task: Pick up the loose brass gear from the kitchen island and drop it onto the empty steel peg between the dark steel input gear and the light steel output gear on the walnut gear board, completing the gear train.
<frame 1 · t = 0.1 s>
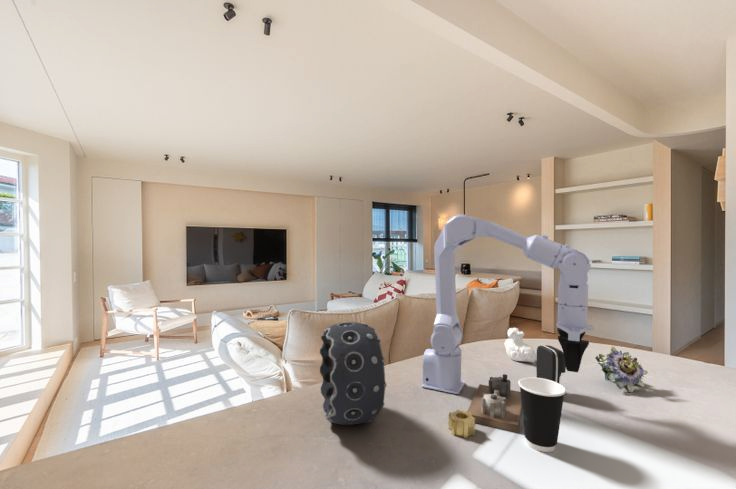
hand: (571, 365, 79), 10 cm above the kitchen island, tool pointing down, fingers open, 7 cm apart
dixie cup: (540, 445, 66), on the kitchen island
dark grey patterned wheel: (349, 419, 74), on the kitchen island
bust: (517, 360, 113), on the kitchen island
gear board: (496, 408, 79), on the kitchen island
brass gear: (461, 430, 70), on the kitchen island
passion flower: (618, 386, 93), on the kitchen island
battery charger: (550, 394, 88), on the kitchen island
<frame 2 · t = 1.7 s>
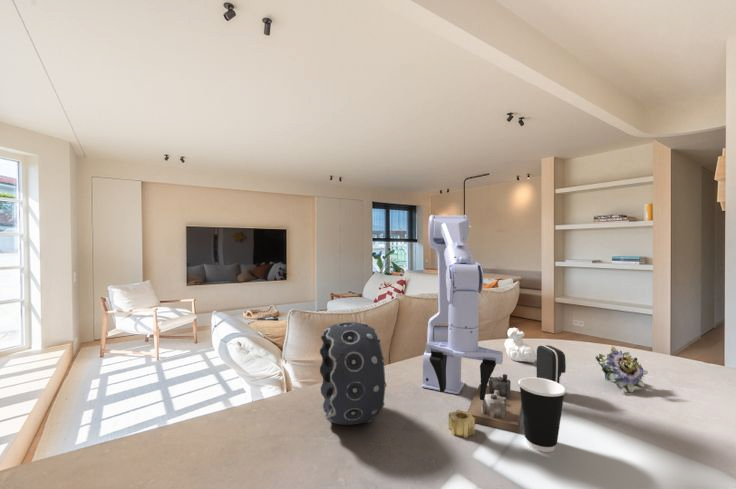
hand: (462, 394, 70), 7 cm above the kitchen island, tool pointing down, fingers open, 7 cm apart
nothing on the kitchen island moved.
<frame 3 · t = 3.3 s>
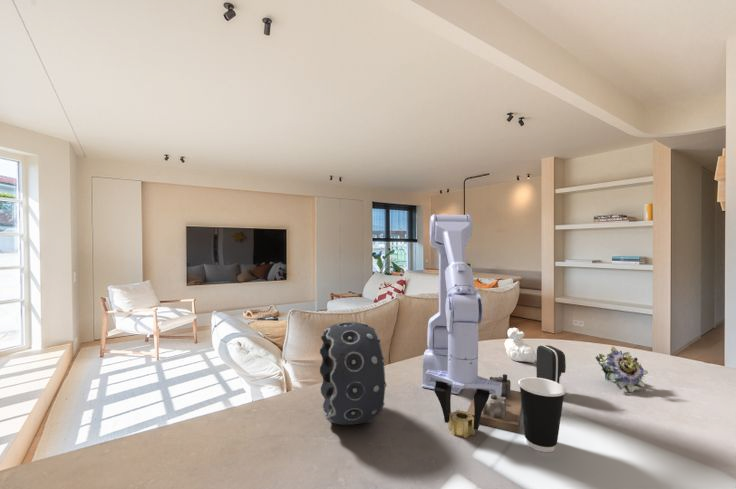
hand: (461, 423, 70), 1 cm above the kitchen island, tool pointing down, fingers closed on brass gear, 5 cm apart
brass gear: (461, 430, 70), on the kitchen island, touching gripper
everything else where it was.
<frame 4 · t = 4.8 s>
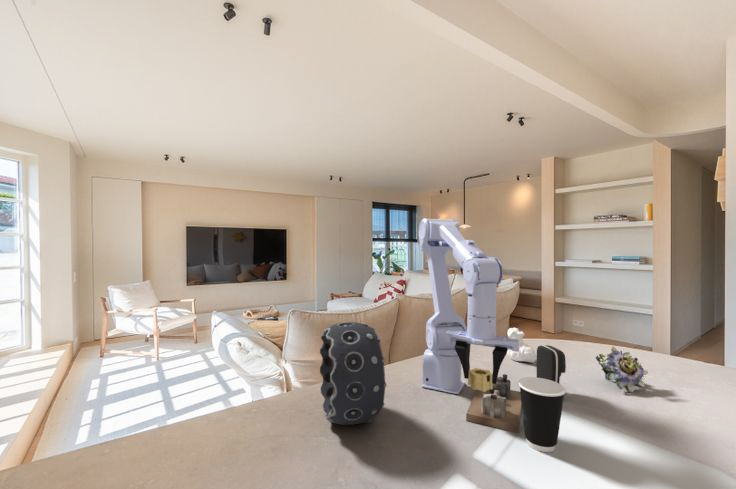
hand: (480, 379, 75), 8 cm above the kitchen island, tool pointing down, fingers closed on brass gear, 5 cm apart
brass gear: (480, 386, 75), point 7 cm above the kitchen island, touching gripper
everything else where it was.
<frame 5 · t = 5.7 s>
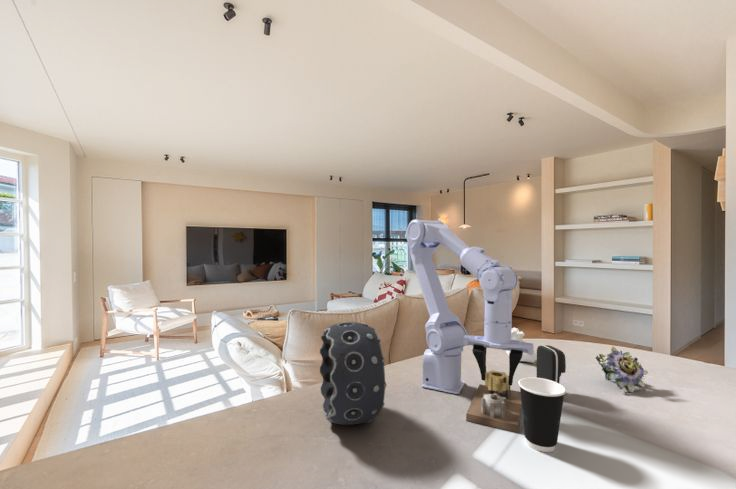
hand: (496, 381, 79), 6 cm above the kitchen island, tool pointing down, fingers closed on brass gear, 5 cm apart
brass gear: (496, 387, 79), point 5 cm above the kitchen island, touching gripper
everything else where it was.
when the fingers open (6 cm above the kitchen island, at t = 6.5 s): brass gear drops 3 cm, resting on gear board.
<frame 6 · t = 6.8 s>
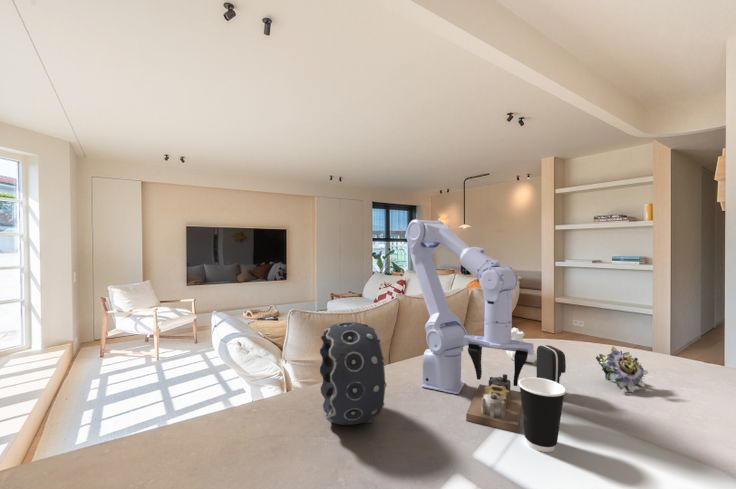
hand: (496, 381, 79), 6 cm above the kitchen island, tool pointing down, fingers open, 7 cm apart
brass gear: (496, 402, 79), point 1 cm above the kitchen island, touching gear board
everything else where it was.
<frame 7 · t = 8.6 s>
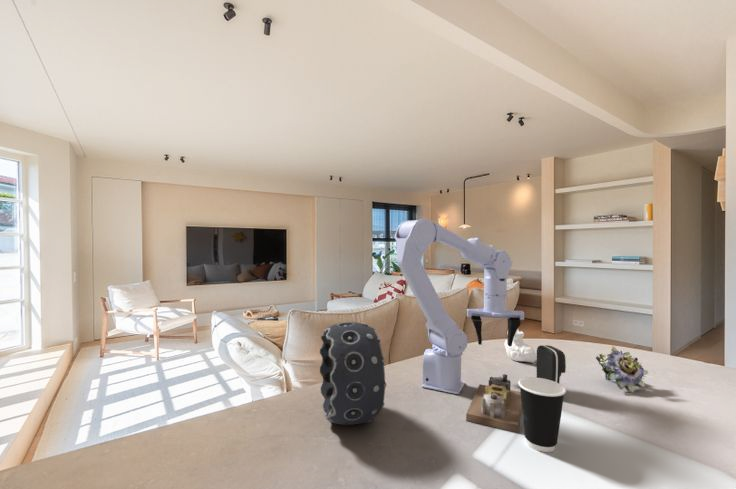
hand: (494, 344, 96), 9 cm above the kitchen island, tool pointing down, fingers open, 7 cm apart
nothing on the kitchen island moved.
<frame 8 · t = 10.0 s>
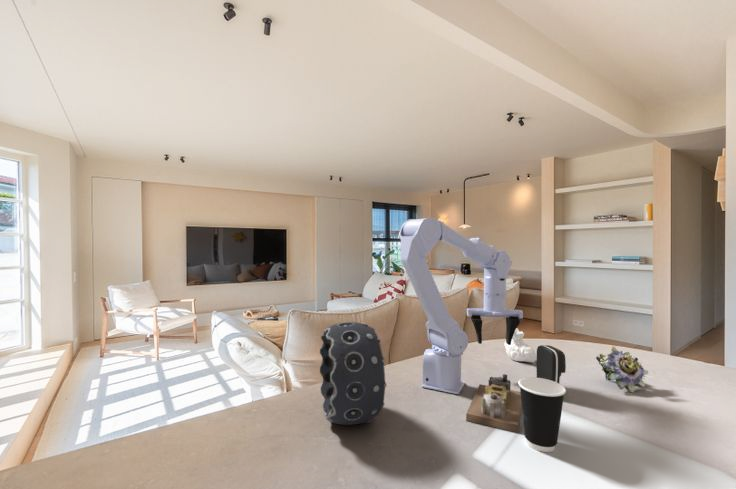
hand: (493, 343, 98), 9 cm above the kitchen island, tool pointing down, fingers open, 7 cm apart
nothing on the kitchen island moved.
at the end: brass gear 0.1 cm off-centre on the gear board, point 1.5 cm above the gear board's base; brass gear tilted 0°; the gripper is holding nothing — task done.
